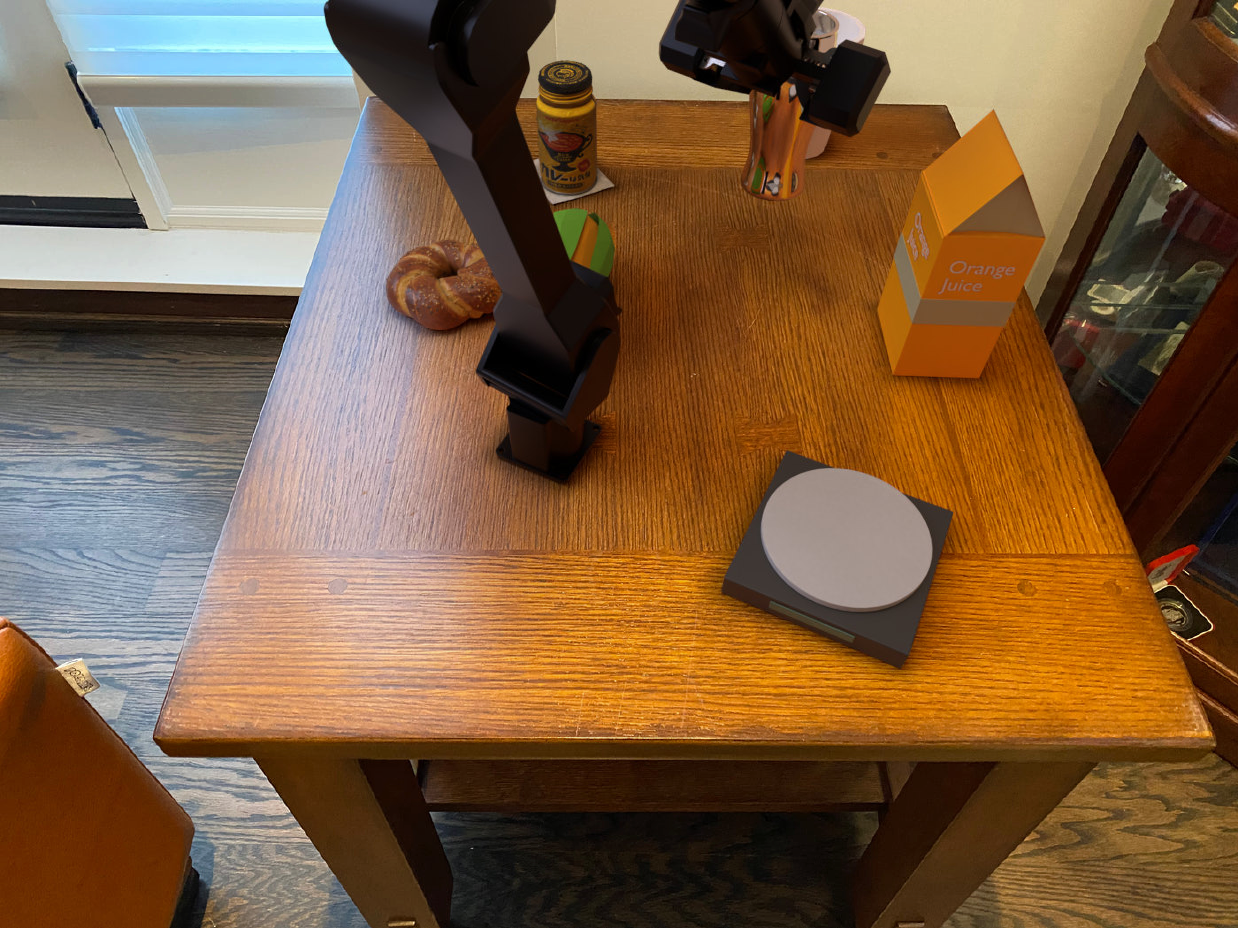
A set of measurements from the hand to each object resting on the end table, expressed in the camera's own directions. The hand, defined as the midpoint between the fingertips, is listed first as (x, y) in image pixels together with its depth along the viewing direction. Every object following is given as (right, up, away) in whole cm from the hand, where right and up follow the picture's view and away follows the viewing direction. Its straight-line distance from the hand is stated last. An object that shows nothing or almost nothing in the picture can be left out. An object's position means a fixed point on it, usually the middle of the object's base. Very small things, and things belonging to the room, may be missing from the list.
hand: (791, 102), depth 78 cm
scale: (0, -39, -15) cm, 42 cm away
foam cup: (+5, +4, +21) cm, 22 cm away
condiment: (-21, -2, +16) cm, 27 cm away
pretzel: (-31, -17, +3) cm, 35 cm away
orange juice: (+12, -22, 0) cm, 25 cm away
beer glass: (-1, -6, +5) cm, 8 cm away
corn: (-20, -19, +1) cm, 28 cm away
